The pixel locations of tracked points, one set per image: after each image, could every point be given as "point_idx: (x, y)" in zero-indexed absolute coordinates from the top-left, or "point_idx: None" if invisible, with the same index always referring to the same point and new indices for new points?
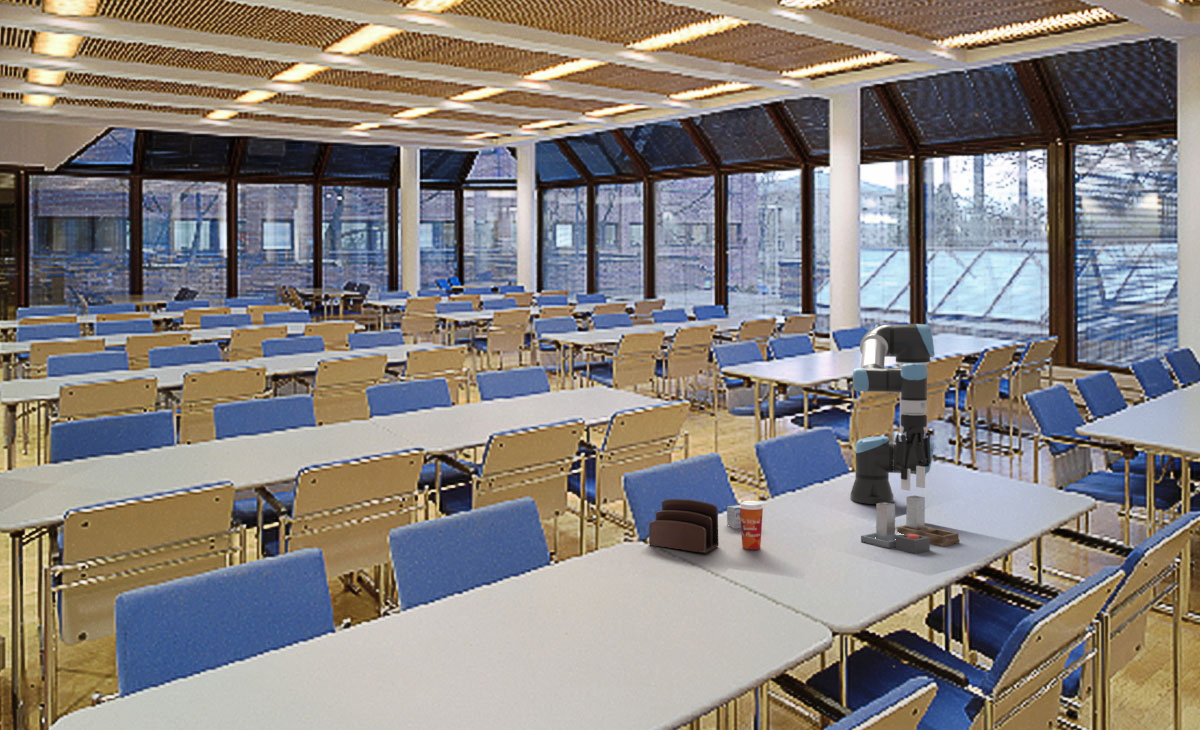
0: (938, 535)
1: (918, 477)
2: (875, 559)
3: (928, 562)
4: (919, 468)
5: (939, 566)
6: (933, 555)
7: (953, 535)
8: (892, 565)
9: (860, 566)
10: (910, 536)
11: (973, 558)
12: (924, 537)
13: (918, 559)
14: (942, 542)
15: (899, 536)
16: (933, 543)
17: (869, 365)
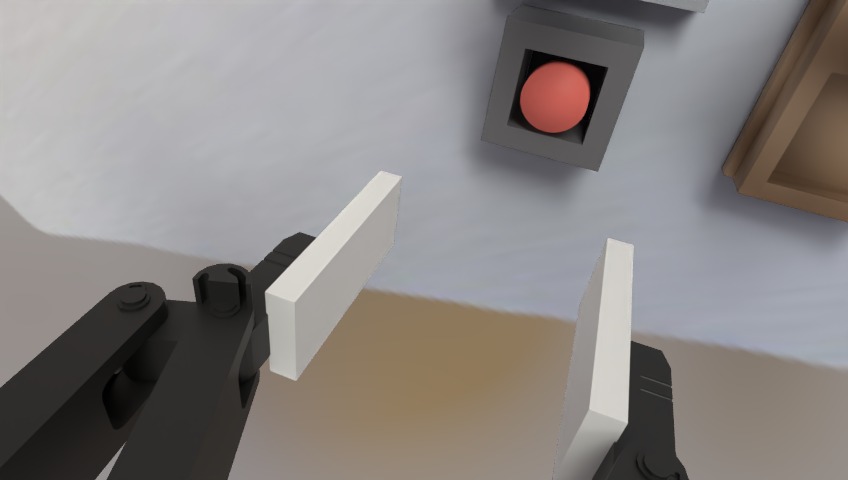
0: (767, 162)
1: (588, 325)
2: (297, 22)
3: (411, 198)
4: (577, 419)
5: None
6: (524, 183)
7: (839, 218)
8: (282, 114)
9: (183, 28)
10: (520, 100)
11: None
12: (579, 150)
13: (423, 157)
14: (735, 174)
15: (513, 36)
16: (748, 122)
17: None
